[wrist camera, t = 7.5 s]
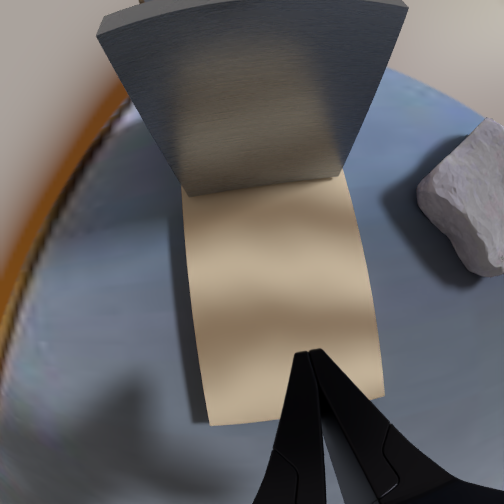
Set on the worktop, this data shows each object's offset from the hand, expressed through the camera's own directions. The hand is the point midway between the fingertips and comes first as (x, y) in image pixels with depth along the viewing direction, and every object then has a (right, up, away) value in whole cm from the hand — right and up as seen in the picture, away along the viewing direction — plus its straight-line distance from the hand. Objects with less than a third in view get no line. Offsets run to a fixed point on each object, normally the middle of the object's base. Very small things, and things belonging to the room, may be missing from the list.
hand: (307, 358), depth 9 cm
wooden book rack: (-1, +5, +10) cm, 11 cm away
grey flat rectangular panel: (-1, +8, +9) cm, 12 cm away
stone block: (+17, +7, +10) cm, 20 cm away
